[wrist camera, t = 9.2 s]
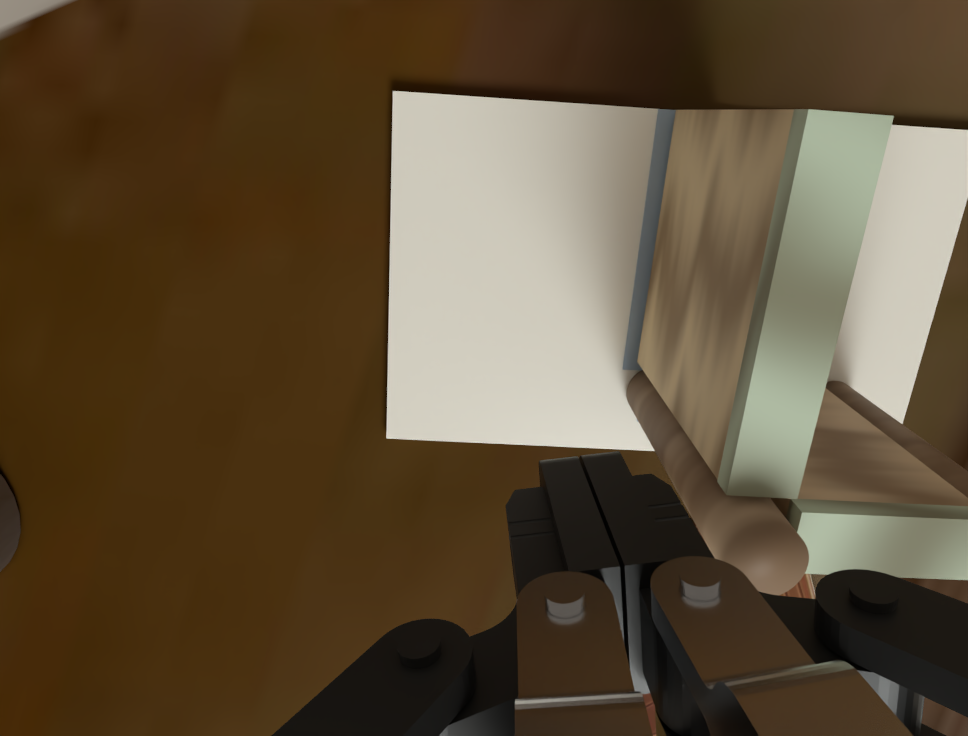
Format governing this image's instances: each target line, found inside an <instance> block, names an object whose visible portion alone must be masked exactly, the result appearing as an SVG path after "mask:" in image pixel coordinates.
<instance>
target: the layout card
mask: <svg viewBox="0 0 968 736" xmlns="http://www.w3.org/2000/svg"><path fill="white" fill-rule="evenodd" d="M675 112H676V110H667V109H652V108H637V107H622V106H608V105H593V104H578V103H564V102H549V101H534V100H520V99H505V98H490V97H476V96H461V95H446V94H432V93H417V92H403V91H393V108H392V162H391V216H390V271H389V325H388V379H387V433H386V438H388V439H409V440H431V441H452V442H474V443H495V444H516V445H538V446H559V447H580V448H602V449H623V450H644V451H655V450H654V449H653V447H652V445H651V443H650V441H649V440H648V438H647V436H646V434H645V432H644V431H643V429H642V427H641V425H640V423H639V422H638V420H637V418H636V416H635V414H634V413H633V411H632V409H631V407H630V405H629V404H628V401H627V397H626V391H627V387H628V384H629V382H630V380H631V379H632V378H633V377H634V375H636V374H637V373H638V372H640V371H641V370H642V368H641V367H640V365H639V364H638V362H637V359H638V353H639V346H640V340H641V333H642V327H643V320H644V314H645V307H646V301H647V294H648V288H649V281H650V275H651V268H652V262H653V255H654V249H655V242H656V236H657V229H658V223H659V216H660V210H661V203H662V197H663V190H664V184H665V177H666V171H667V164H668V158H669V151H670V145H671V138H672V132H673V125H674V119H675ZM967 198H968V130H959V129H945V128H930V127H915V126H901V125H892V126H891V130H890V134H889V138H888V142H887V146H886V150H885V154H884V158H883V162H882V165H881V169H880V173H879V177H878V181H877V185H876V189H875V193H874V197H873V201H872V205H871V209H870V213H869V217H868V221H867V225H866V229H865V233H864V237H863V241H862V245H861V249H860V253H859V257H858V261H857V265H856V269H855V273H854V277H853V280H852V284H851V288H850V292H849V296H848V300H847V304H846V308H845V312H844V316H843V320H842V324H841V328H840V332H839V336H838V340H837V344H836V348H835V352H834V356H833V360H832V364H831V368H830V372H829V376H828V380H827V382H829V381H841V382H844V383H845V384H847V385H848V386H850V387H851V388H852V389H854V390H855V391H857V392H858V393H859V394H861V395H862V396H864V397H865V398H866V399H868V400H869V401H871V402H872V403H873V404H875V405H876V406H877V407H879V408H880V409H882V410H883V411H884V412H886V413H887V414H889V415H890V416H891V417H893V418H894V419H896V420H897V421H898V422H900V423H901V424H903V420H904V417H905V413H906V410H907V406H908V403H909V399H910V396H911V392H912V389H913V386H914V382H915V379H916V375H917V372H918V368H919V365H920V361H921V358H922V354H923V351H924V347H925V344H926V340H927V337H928V333H929V330H930V327H931V323H932V320H933V316H934V313H935V309H936V306H937V302H938V299H939V295H940V292H941V288H942V285H943V281H944V278H945V274H946V271H947V268H948V264H949V261H950V257H951V254H952V250H953V247H954V243H955V240H956V236H957V233H958V229H959V226H960V222H961V219H962V215H963V212H964V208H965V205H966V202H967Z"/></svg>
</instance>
